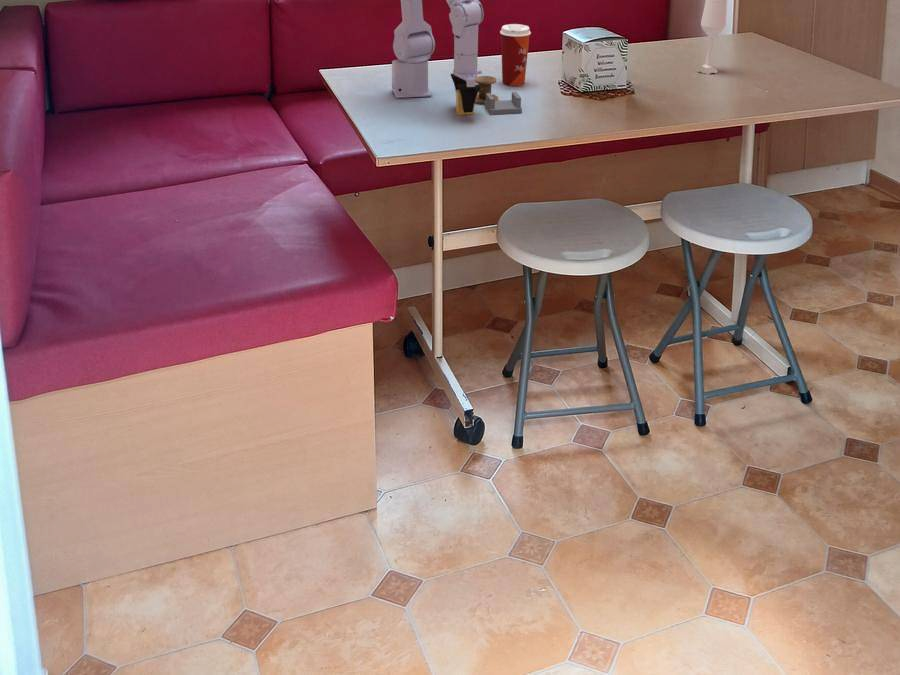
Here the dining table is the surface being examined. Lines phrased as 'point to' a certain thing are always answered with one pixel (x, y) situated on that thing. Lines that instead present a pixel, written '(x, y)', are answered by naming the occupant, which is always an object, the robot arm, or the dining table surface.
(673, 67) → the dining table surface
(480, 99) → the bobbin
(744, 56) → the dining table surface
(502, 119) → the dining table surface
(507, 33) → the coffee cup
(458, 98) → the yellow upright block
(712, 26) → the champagne flute
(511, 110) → the grey cradle
